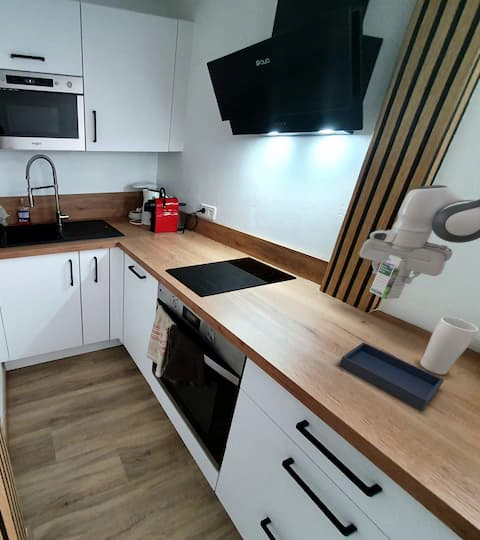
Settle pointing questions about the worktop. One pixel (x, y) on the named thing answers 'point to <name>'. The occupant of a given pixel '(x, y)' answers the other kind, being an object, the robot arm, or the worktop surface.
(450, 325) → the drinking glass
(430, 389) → the tray
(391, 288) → the syrup box
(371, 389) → the worktop surface
